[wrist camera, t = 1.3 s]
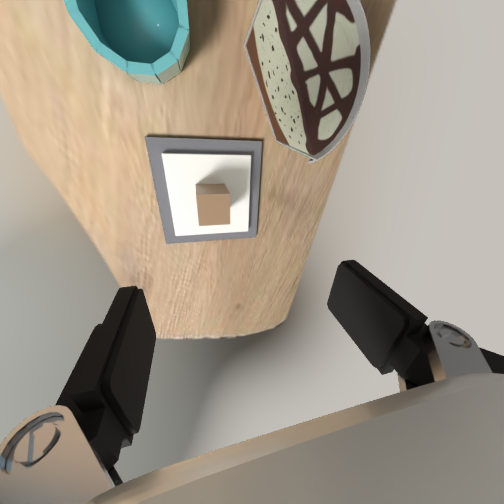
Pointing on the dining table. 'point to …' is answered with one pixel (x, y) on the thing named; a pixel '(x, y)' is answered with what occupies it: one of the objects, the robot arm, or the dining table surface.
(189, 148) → the mat
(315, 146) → the food container
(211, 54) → the dining table surface
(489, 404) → the robot arm
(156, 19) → the bowl
